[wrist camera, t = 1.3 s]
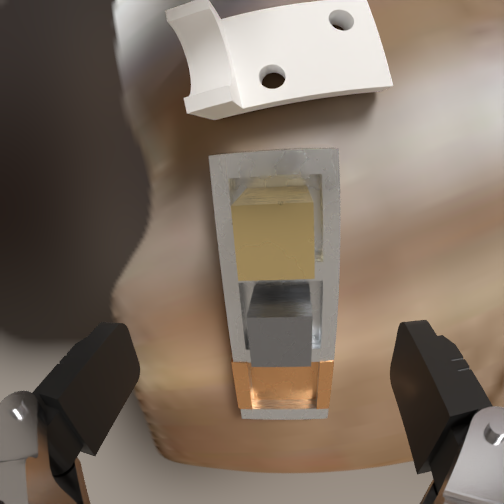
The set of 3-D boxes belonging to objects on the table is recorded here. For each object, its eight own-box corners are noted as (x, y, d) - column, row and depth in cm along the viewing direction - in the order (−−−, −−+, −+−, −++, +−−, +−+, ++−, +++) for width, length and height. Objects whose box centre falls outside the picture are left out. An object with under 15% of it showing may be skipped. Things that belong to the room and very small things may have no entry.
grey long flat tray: (214, 154, 23) (205, 156, 21) (333, 147, 22) (338, 148, 20) (243, 402, 32) (240, 419, 30) (325, 401, 31) (327, 419, 29)
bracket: (217, 121, 23) (187, 113, 16) (199, 43, 21) (165, 10, 14) (379, 92, 21) (414, 75, 13) (356, 14, 18) (379, -26, 11)
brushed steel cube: (254, 285, 26) (246, 317, 21) (309, 284, 25) (312, 316, 21) (257, 330, 27) (251, 366, 23) (308, 329, 27) (311, 366, 22)
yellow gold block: (246, 188, 23) (230, 206, 17) (306, 185, 23) (313, 202, 16) (250, 245, 25) (238, 280, 19) (308, 243, 24) (314, 279, 18)
